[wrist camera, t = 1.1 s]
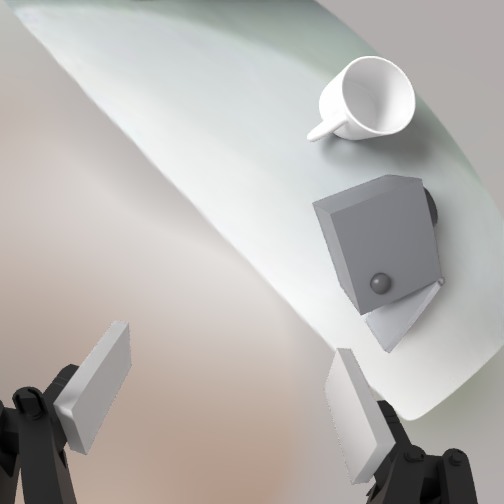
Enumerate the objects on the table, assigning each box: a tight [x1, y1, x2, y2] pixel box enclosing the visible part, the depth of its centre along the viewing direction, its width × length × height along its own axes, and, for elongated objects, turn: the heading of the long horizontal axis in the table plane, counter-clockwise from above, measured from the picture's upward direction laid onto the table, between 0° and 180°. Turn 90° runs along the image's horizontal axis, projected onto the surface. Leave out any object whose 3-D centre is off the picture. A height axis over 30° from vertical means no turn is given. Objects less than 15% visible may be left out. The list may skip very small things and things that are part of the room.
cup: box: [307, 56, 416, 142], centre depth 31 cm, size 8×12×10 cm
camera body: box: [312, 175, 442, 315], centre depth 35 cm, size 12×13×10 cm
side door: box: [365, 276, 445, 353], centre depth 38 cm, size 2×12×8 cm, turn 147°
